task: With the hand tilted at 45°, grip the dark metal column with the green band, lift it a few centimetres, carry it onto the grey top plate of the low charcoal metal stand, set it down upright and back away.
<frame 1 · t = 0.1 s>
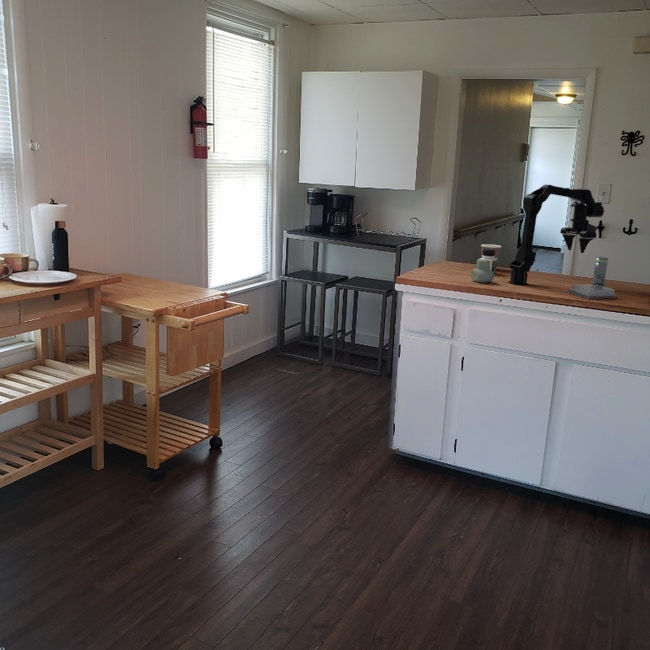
hand: (575, 251, 308), 15 cm above the worktop, tool pointing down, fingers open, 9 cm apart
metal stand: (591, 295, 283), on the worktop
steel column: (597, 289, 299), on the worktop
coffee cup: (488, 269, 344), on the worktop
air freshener: (481, 282, 306), on the worktop
medicine bottle: (486, 273, 330), on the worktop
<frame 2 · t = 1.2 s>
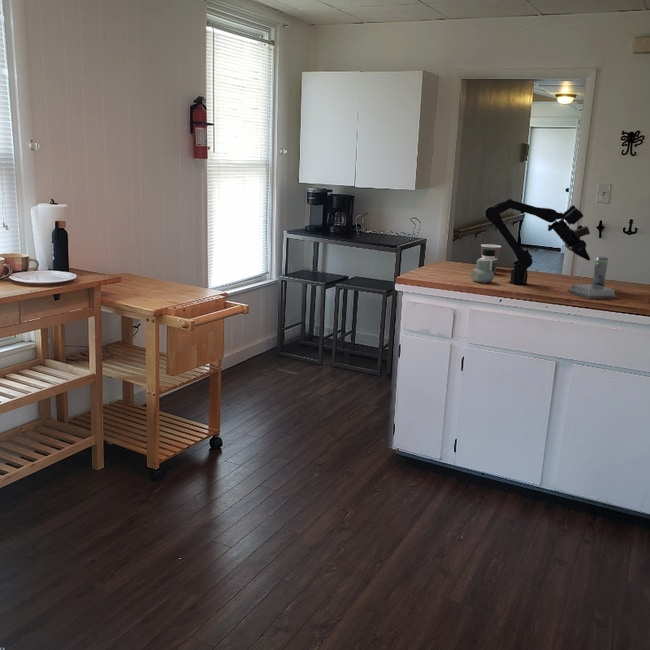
hand: (587, 258, 297), 13 cm above the worktop, tool tilted 45°, fingers open, 9 cm apart
nothing on the worktop moved.
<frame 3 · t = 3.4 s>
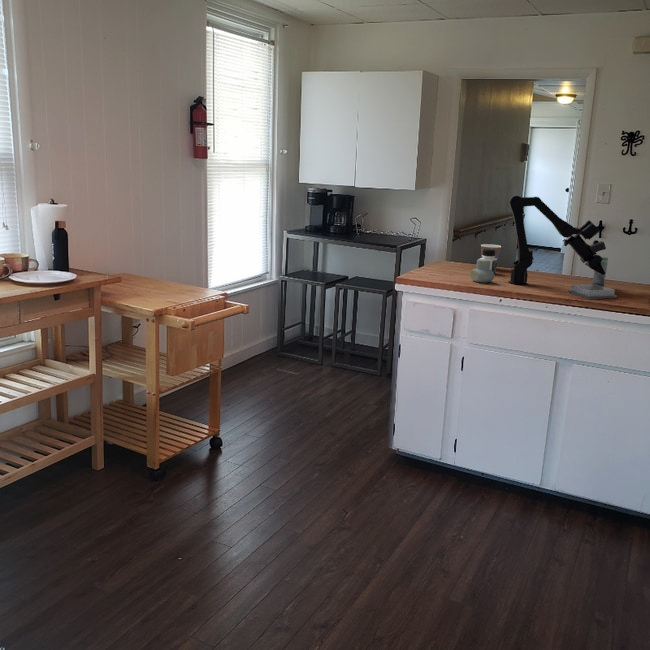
hand: (603, 273, 297), 7 cm above the worktop, tool tilted 45°, fingers closed on steel column, 5 cm apart
steel column: (597, 288, 299), on the worktop, touching gripper
everything else where it was.
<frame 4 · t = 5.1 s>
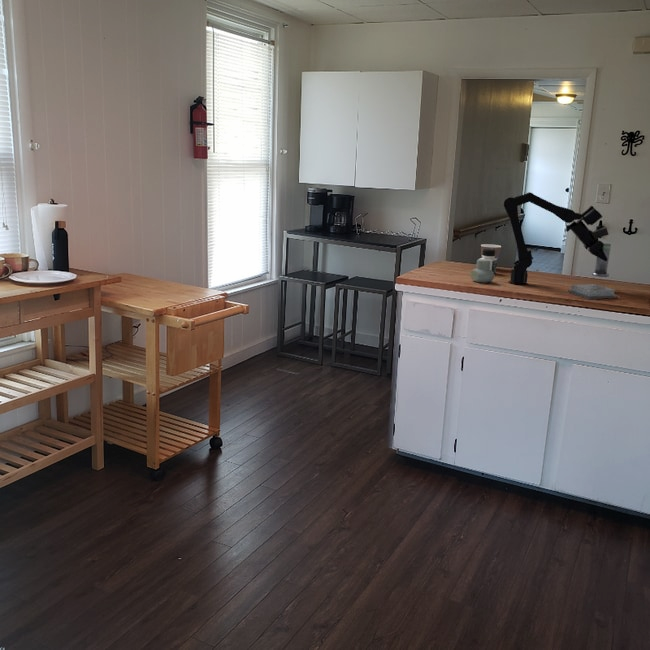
hand: (605, 259, 293), 13 cm above the worktop, tool tilted 45°, fingers closed on steel column, 5 cm apart
steel column: (600, 275, 296), point 6 cm above the worktop, touching gripper
everything else where it was.
when the fingers open (11 cm above the worktop, at t = 7.1 s): steel column stays where it is, resting on metal stand.
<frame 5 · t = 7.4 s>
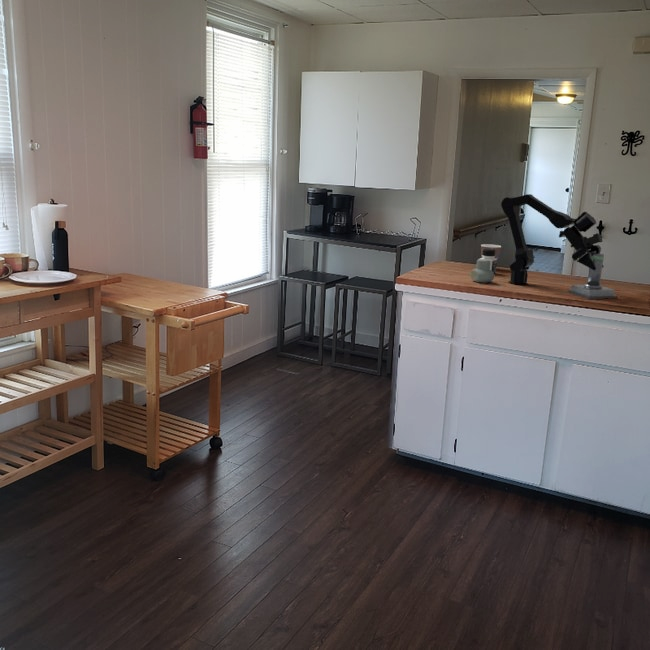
hand: (599, 268, 280), 12 cm above the worktop, tool tilted 45°, fingers open, 8 cm apart
steel column: (592, 287, 282), point 4 cm above the worktop, touching metal stand
everything else where it was.
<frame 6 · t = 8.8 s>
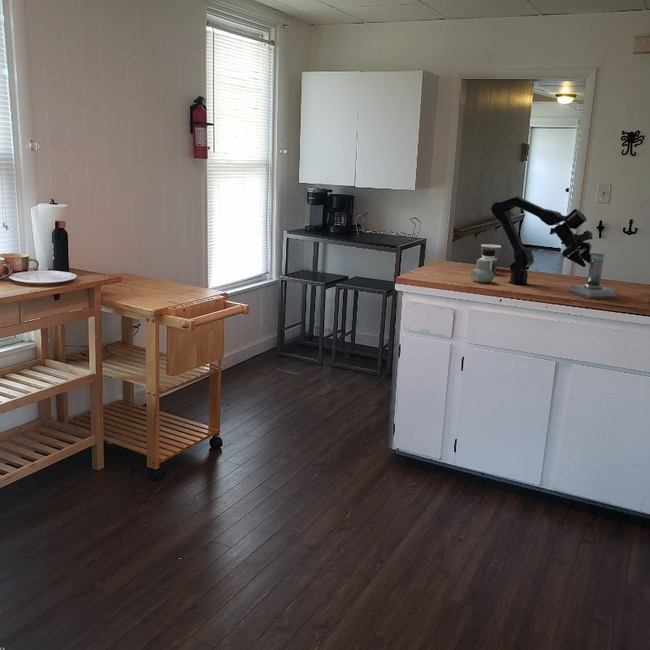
hand: (589, 265, 282), 12 cm above the worktop, tool tilted 45°, fingers open, 9 cm apart
nothing on the worktop moved.
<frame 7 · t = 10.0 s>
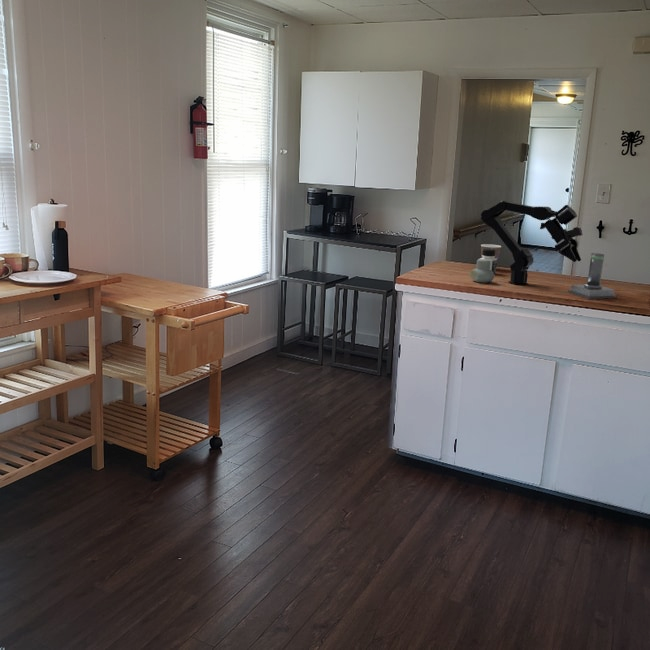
hand: (577, 261, 286), 13 cm above the worktop, tool tilted 40°, fingers open, 9 cm apart
nothing on the worktop moved.
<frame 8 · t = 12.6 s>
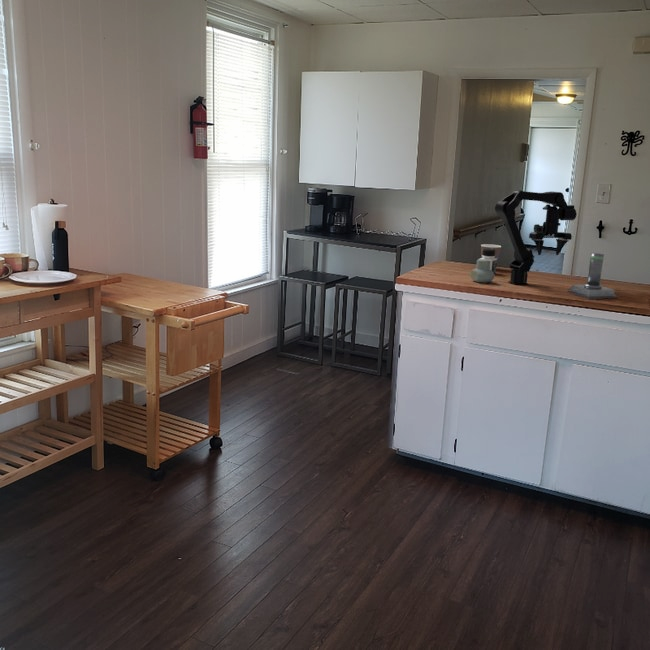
hand: (548, 255, 305), 13 cm above the worktop, tool pointing down, fingers open, 9 cm apart
nothing on the worktop moved.
at the end: steel column inside the target area on the metal stand (0.0 cm from its centre), point 3.5 cm above the metal stand's base; steel column tilted 1°; the gripper is holding nothing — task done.
